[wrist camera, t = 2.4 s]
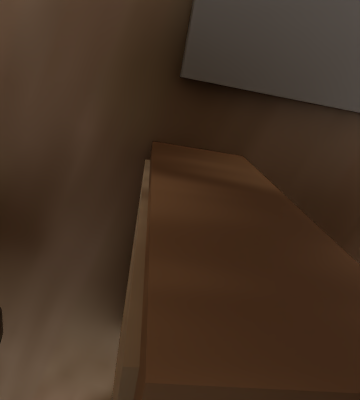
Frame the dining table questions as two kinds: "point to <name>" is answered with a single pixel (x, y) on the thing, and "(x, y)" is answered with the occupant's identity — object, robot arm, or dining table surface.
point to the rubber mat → (278, 48)
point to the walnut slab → (233, 290)
